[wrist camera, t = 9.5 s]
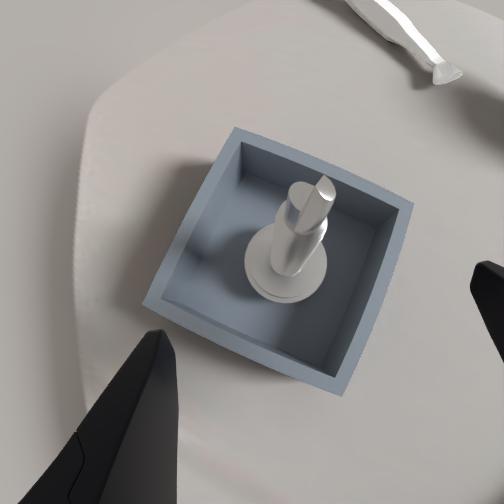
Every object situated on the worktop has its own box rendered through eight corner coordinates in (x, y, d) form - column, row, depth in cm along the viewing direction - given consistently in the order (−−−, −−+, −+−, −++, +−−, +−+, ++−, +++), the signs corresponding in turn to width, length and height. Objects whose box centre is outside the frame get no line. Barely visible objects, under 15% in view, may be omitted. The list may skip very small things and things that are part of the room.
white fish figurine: (349, -11, 28) (355, -34, 24) (456, 85, 25) (473, 64, 21) (316, -4, 28) (320, -29, 24) (429, 99, 25) (446, 75, 21)
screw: (231, 278, 21) (272, 217, 22) (295, 319, 20) (334, 255, 21) (184, 214, 8) (282, 87, 9) (349, 317, 7) (423, 168, 8)
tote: (324, 380, 20) (341, 396, 15) (167, 308, 21) (141, 304, 16) (385, 226, 22) (414, 203, 17) (240, 163, 23) (234, 126, 18)
